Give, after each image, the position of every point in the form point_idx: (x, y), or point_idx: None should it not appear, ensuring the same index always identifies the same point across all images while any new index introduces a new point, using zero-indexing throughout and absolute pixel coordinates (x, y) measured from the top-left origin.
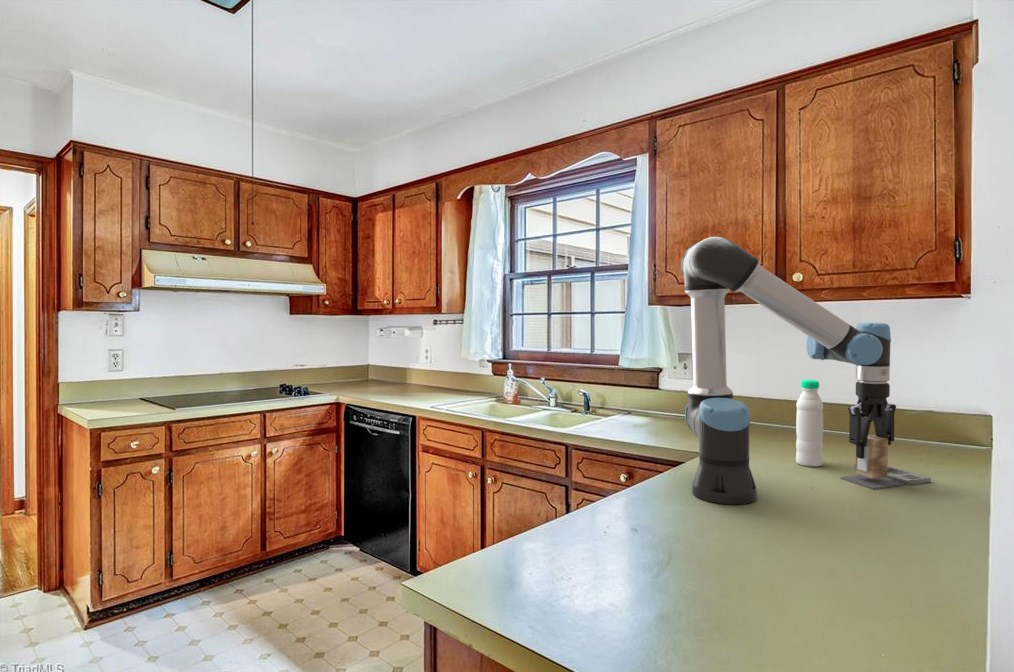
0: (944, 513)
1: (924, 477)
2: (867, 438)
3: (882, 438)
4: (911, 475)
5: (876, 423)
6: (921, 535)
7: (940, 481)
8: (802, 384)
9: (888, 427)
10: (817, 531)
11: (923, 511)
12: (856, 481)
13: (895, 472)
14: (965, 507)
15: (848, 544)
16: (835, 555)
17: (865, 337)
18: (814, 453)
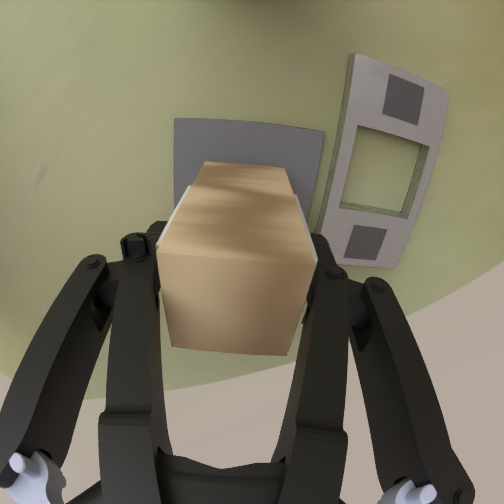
0: (191, 360)
1: (387, 261)
2: (180, 316)
3: (271, 342)
4: (380, 237)
5: (294, 401)
6: (97, 368)
7: (416, 263)
8: None
9: (368, 378)
10: (4, 315)
11: (165, 347)
12: (181, 181)
13: (416, 165)
14: (257, 360)
15: (23, 341)
16: (11, 343)
17: None
18: None
